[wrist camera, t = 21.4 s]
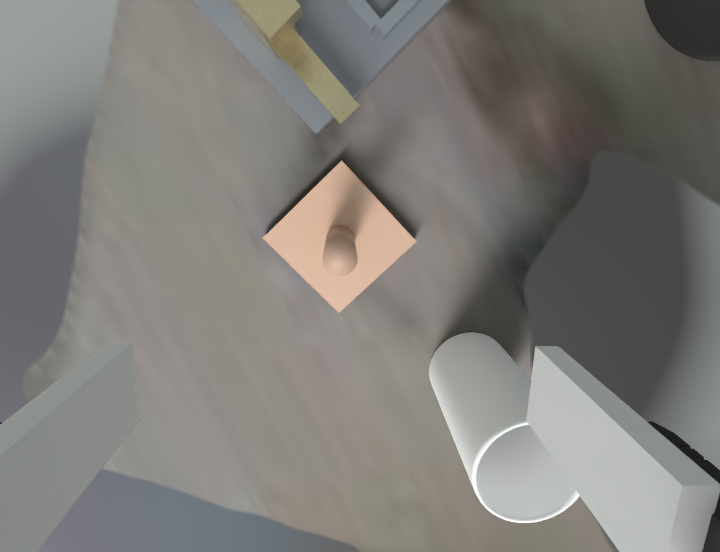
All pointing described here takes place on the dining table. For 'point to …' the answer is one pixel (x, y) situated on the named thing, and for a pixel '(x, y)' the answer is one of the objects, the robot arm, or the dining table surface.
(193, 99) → the dining table surface
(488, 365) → the cup
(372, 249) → the cover
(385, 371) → the dining table surface
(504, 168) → the dining table surface
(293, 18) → the key
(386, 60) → the housing
